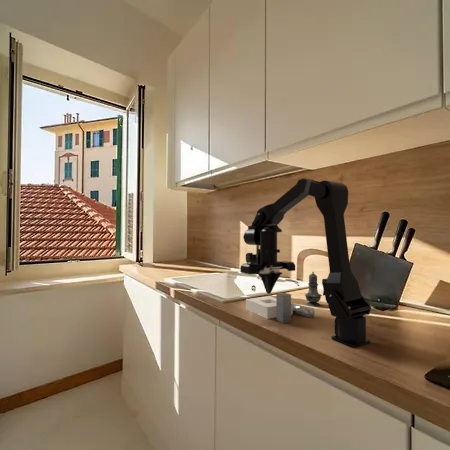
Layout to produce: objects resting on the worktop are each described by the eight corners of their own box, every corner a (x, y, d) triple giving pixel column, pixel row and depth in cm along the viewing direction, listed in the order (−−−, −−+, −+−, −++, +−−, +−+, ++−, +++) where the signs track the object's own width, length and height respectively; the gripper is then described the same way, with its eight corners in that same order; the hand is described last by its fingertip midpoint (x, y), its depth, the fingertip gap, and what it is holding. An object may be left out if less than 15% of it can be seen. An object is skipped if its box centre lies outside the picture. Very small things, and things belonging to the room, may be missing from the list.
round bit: (315, 309, 92) (310, 307, 90) (313, 319, 91) (308, 316, 90) (294, 304, 98) (289, 302, 97) (292, 313, 98) (287, 311, 96)
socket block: (292, 314, 94) (292, 303, 94) (267, 318, 89) (267, 307, 89) (269, 305, 104) (269, 296, 105) (245, 309, 100) (245, 299, 100)
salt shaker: (316, 307, 102) (316, 273, 102) (301, 304, 106) (301, 271, 107) (324, 304, 106) (324, 271, 107) (309, 301, 111) (309, 269, 111)
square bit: (291, 321, 86) (290, 294, 87) (283, 323, 85) (282, 295, 85) (284, 319, 89) (284, 292, 89) (276, 320, 88) (276, 293, 88)
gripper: (275, 244, 109) (275, 286, 108) (231, 245, 100) (231, 291, 99) (296, 245, 99) (296, 292, 99) (250, 247, 90) (250, 298, 90)
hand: (268, 293), depth 97 cm, fingers closed
